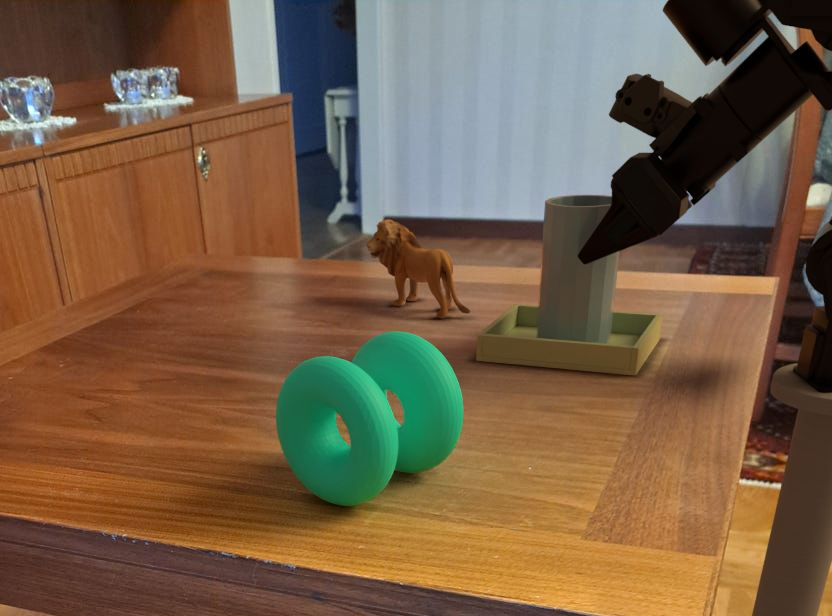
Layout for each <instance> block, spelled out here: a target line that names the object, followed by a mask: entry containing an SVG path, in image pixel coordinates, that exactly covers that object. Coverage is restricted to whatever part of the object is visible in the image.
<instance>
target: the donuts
mask: <svg viewBox="0 0 832 616" xmlns="http://www.w3.org/2000/svg"><path fill="white" fill-rule="evenodd" d="M442 353H443V352H441V351H440V350H439V349H438V348H437V347H436V346H435V345H434V344H432V343H431V342H429V341H428V340H426V339H425V338H423V337H421V336H419V335H416V334H414V333H411V332H407V331H399V330H398V331H397V330H395V331H394V330H393V331H385V332H383V333H380V334H377V335H374V336H373V337H372V338H370V339H369V340H368V341H366V342H365V343H364V344H362V345H361V346H360V348H359V349H358V350H357V352H356V353H355V354H354V356H353V357H352V359H351V361H349V360H346V359H344V358H340V357H336V356H333V355H331V356H330V355H324V356H323V355H322V356H316V357H312V358H309V359H306V360H303V361H302V362H301V363H299V364H298V365H296V366H295V368H293V369H292V370H291V371H290V372H289V373H288V375H287V376H286V378H285V379H284V381H283V382H282V385H281V387H280V389H279V392H278V396H277V400H276V407H275V425H276V433H277V437H278V442H279V445H280V449H281V451H282V454H283V455H284V458H285V461H286V462H287V465H288V466H289V468H290V469H291V471H292V472H293V474H294V475H295V476H296V478H297V479H298V481H300V483H301V484H302V485H303V486H304V487H305V488H306V489H307V490H309V491H310V492H311V493H312V494H314V496H316V497H318V498H319V499H321V500H322V501H325V502H326V503H330V504H332V505H338V506H343V507H352V506H358V505H363V504H365V503H367V502H369V501H371V500H373V499H374V498H376V497H377V496H378V495H380V493H381V492H383V491H384V489H385V488H386V486H387V485H388V484H389V482H390V480H391V479H392V476H393V474H394V472H395V471H396V472H400V473H405V474H419V473H424V472H428V471H429V470H430V471H431V470H432V469H434V468H436V467H438V466H439V465H441V464H442V463H443V462H444V461H446V459H447V458H448V457H449V456H450V455H451V454H452V453H453V451H454V449H455V448H456V446H457V444H458V442H459V439H460V436H461V433H462V430H463V426H464V425H463V424H464V415H465V413H464V412H465V411H464V410H465V409H464V408H465V407H464V399H463V394H462V389H461V386H460V383H459V380H458V377H457V375H456V373H455V371H454V369H453V367H452V365H451V364H450V362H449V361H448V360H447V358H446V357H445V356H444V354H442ZM388 391H390V392H391V393H393V394H394V396H396V398H397V399H398V402H400V405H401V407H402V411H403V413H402V414H403V421H402V424H400V422H398V421H397V419H396V418H395V415H394V412H393V410H392V407H391V405H390V403H389V401H388ZM337 414H338V415H339V417H340V418H341V420H342V421H343V423H344V425H345V428H346V430H347V433H348V436H349V440H350V444H349V443H347V442H346V441H345V440H344V438H343V436H342V435H341V433H340V430H339V428H338V425H337Z"/></svg>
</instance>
